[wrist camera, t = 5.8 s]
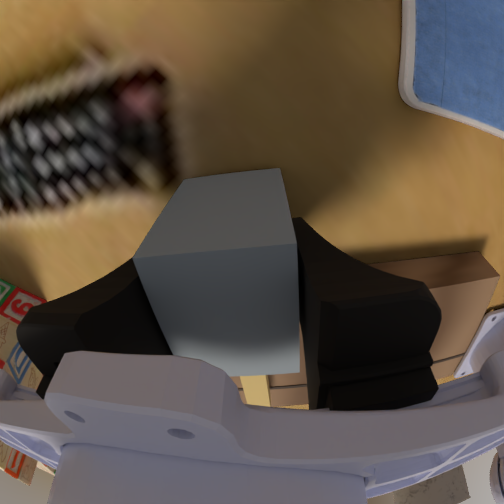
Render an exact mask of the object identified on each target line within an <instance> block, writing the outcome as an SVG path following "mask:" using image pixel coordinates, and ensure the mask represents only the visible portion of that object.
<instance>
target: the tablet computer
mask: <svg viewBox="0 0 504 504" xmlns="http://www.w3.org/2000/svg"><path fill="white" fill-rule="evenodd" d="M398 88H399V93H400V96H401V98H402V100H403V101H404V102H405V103H406V104H407V105H409V106H411V107H413V108H415V109H418V110H422V111H425V112H429V113H432V114H435V115H439V116H442V117H446V118H449V119H452V120H455V121H458V122H461V123H464V124H467V125H470V126H472V127H475V128H478V129H480V130H483V131H485V132H487V133H490V134H492V135H495V136H497V137H500V138H502V139H504V0H402V40H401V57H400V69H399V79H398Z"/></svg>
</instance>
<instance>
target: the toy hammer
mask: <svg viewBox="0 0 504 504" xmlns="http://www.w3.org/2000/svg"><path fill="white" fill-rule="evenodd" d="M132 259H133V261H134V264H135V267H136V269H137V272H138V275H139V277H140V280H141V282H142V285H143V287H144V290H145V292H146V295H147V297H148V300H149V302H150V304H151V307H152V309H153V312H154V314H155V316H156V318H157V321H158V323H159V325H160V328H161V330H162V332H163V334H164V336H165V339H166V341H167V343H168V345H169V347H170V349H171V351H172V353H173V355H176V356H182V357H189V358H195V359H201V360H203V361H205V362H207V363H209V364H211V365H214V366H216V367H218V368H220V369H222V370H223V371H225V372H226V373H227V374H228V376H229V377H232V376H240V379H241V383H242V386H243V390H244V393H245V397H246V401H247V404H250V405H259V406H268V407H271V394H270V388H269V381H268V375H274V374H287V373H299V372H300V336H299V288H298V259H297V242H296V237H295V232H294V228H293V223H292V218H291V214H290V209H289V205H288V200H287V196H286V191H285V187H284V183H283V178H282V174H281V170H280V168H274V169H264V170H254V171H244V172H235V173H227V174H219V175H211V176H204V177H197V178H190V179H184V180H183V182H182V183H181V184H180V186H179V187H178V189H177V190H176V192H175V193H174V195H173V196H172V197H171V199H170V200H169V202H168V203H167V205H166V206H165V208H164V209H163V211H162V212H161V214H160V215H159V217H158V218H157V220H156V221H155V223H154V224H153V226H152V228H151V229H150V231H149V232H148V234H147V235H146V237H145V239H144V240H143V242H142V243H141V245H140V247H139V248H138V250H137V251H136V253H135V255H134V256H133V258H132Z"/></svg>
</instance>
